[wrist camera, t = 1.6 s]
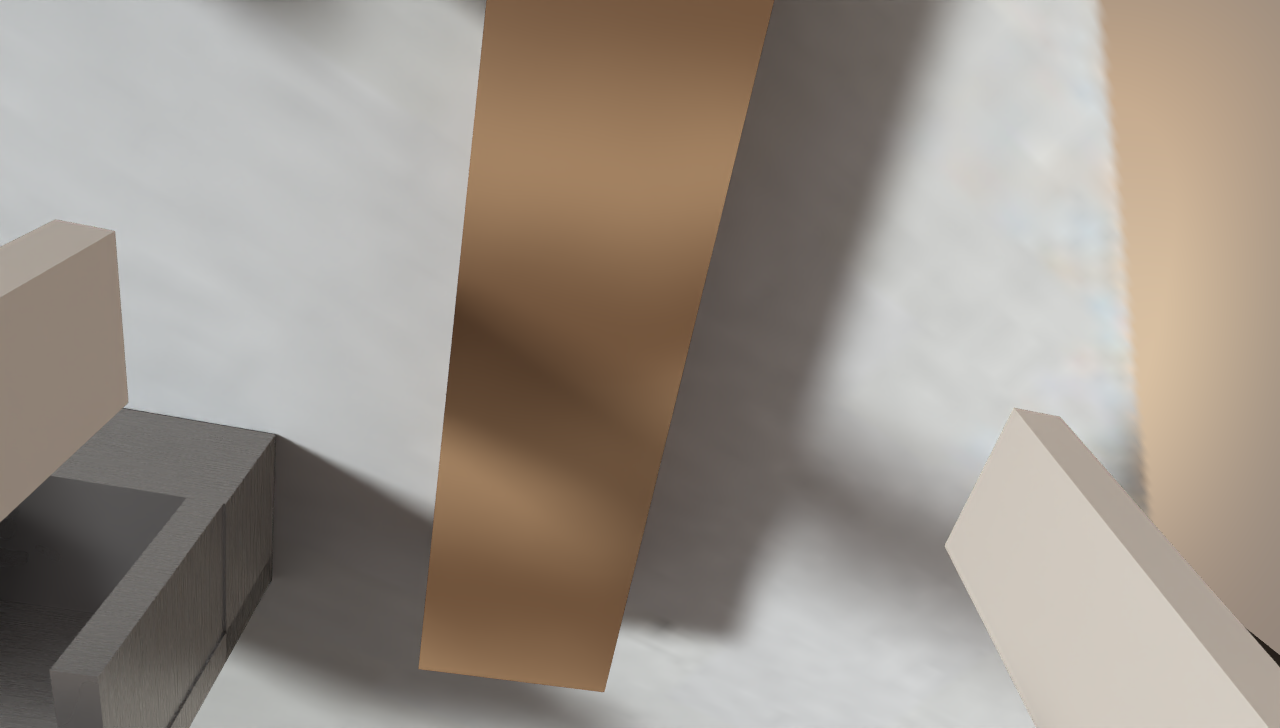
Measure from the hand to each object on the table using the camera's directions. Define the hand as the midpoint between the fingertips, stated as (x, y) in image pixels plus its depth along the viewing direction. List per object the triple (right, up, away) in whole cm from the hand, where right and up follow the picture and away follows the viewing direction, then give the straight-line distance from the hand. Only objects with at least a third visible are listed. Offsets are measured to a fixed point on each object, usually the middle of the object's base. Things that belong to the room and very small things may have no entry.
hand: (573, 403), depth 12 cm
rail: (0, +3, +7) cm, 8 cm away
